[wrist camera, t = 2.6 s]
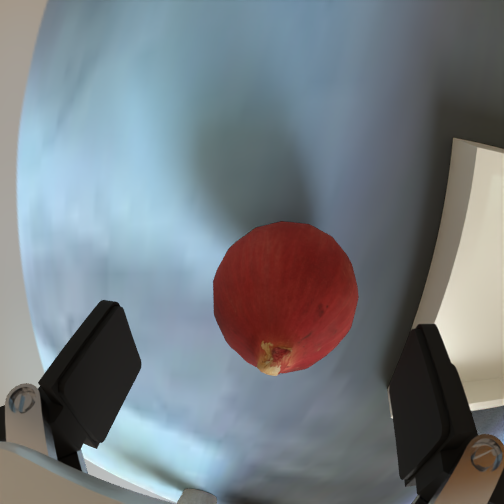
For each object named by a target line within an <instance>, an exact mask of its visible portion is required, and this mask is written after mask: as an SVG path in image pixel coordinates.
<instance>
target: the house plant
mask: <svg viewBox="0 0 504 504" xmlns="http://www.w3.org/2000/svg"><path fill="white" fill-rule="evenodd" d="M216 503H217V498H216V497H215V496H214V495H212V494H210V493H207V492H204V491H200V490H196V489H185V490H184V491H183V493H182V495H181V497H180V498H179V500H178V502H177V504H216Z"/></svg>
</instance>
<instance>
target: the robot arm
mask: <svg viewBox="0 0 504 504" xmlns="http://www.w3.org/2000/svg"><path fill="white" fill-rule="evenodd" d="M140 369H141V359H140V357H139V354H138V351H137V348H136V345H135V342H134V339H133V337H132V334H131V331H130V328H129V325H128V321H127V318H126V315H125V312H124V309H123V308H122V307H120V305H119V303H118V302H113V301H107V300H102V301H100V302H99V303H98V305H97V306H96V307H95V308H94V310H93V311H92V312H91V313H90V314H89V316H88V317H87V318H86V320H85V321H84V322H83V323H82V325H81V326H80V327H79V328H78V330H77V331H76V332H75V334H74V335H73V336H72V337H71V339H70V340H69V341H68V343H67V344H66V345H65V347H64V348H63V349H62V351H61V352H60V353H59V355H58V356H57V357H56V359H55V360H54V361H53V363H52V364H51V366H50V367H49V368H48V370H47V371H46V372H45V374H44V375H43V377H42V378H41V379H40V381H39V382H38V383H39V385H40V387H39V388H38V389H37V388H36V387H35V386H34V385H32V384H27V383H26V384H20V385H18V386H16V387H15V388H13V389H12V390H11V391H10V392H9V394H8V395H7V398H6V402H5V405H4V406H1V407H0V504H175V503H171V502H167V501H163V500H160V499H157V498H153V497H150V496H147V495H143V494H140V493H137V492H134V491H131V490H128V489H125V488H122V487H120V486H117V485H114V484H111V483H109V482H106V481H104V480H101V479H98V478H96V477H94V476H91V475H89V474H88V472H87V468H86V465H85V462H84V458H83V454H82V451H81V447H82V445H83V443H84V444H86V445H88V446H91V447H94V448H96V449H97V447H98V445H99V443H102V442H103V441H104V440H105V438H106V436H107V434H108V432H109V430H110V428H111V426H112V424H113V422H114V420H115V418H116V416H117V414H118V412H119V410H120V408H121V406H122V404H123V402H124V400H125V398H126V396H127V394H128V393H129V391H130V389H131V387H132V385H133V383H134V381H135V379H136V377H137V375H138V373H139V371H140ZM389 395H390V401H391V408H392V415H393V422H394V429H395V437H396V446H397V455H398V465H399V475H400V478H401V479H402V480H403V479H404V480H405V487H407V486H415V485H416V488H417V494H418V495H417V497H416V498H415V499H414V501H413V502H412V503H411V504H504V445H503V443H502V442H501V441H500V440H499V439H498V438H497V437H495V436H493V435H490V434H481V435H478V434H477V430H476V427H475V423H474V420H473V417H472V413H471V410H470V407H469V404H468V400H467V397H466V394H465V391H464V388H463V385H462V382H461V380H460V377H459V374H458V371H457V369H456V367H455V365H453V364H451V361H450V358H449V355H448V353H447V350H446V348H445V345H444V342H443V340H442V337H441V335H440V332H439V330H438V328H437V326H436V325H435V324H418V325H417V326H416V328H415V329H412V330H411V331H410V334H409V337H408V339H407V342H406V345H405V347H404V350H403V353H402V355H401V358H400V360H399V363H398V365H397V368H396V370H395V372H394V375H393V377H392V380H391V382H390V385H389Z"/></svg>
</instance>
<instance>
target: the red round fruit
mask: <svg viewBox="0 0 504 504" xmlns="http://www.w3.org/2000/svg"><path fill="white" fill-rule="evenodd" d="M213 295H214V316H215V318H216V321H217V323H218V325H219V328H220V330H221V332H222V334H223V336H224V338H225V340H226V342H227V343H228V344H229V346H230V347H231V348H233V349H234V350H235V351H236V352H237V353H238V354H239V355H240V356H241V357H242V358H243V359H244V360H245V361H246V362H248V363H250V364H252V365H253V366H255V367H257V368H258V369H259V370H260V371H261V372H263V373H265V374H268V375H273V376H277V375H278V374H280V373H288V372H293V371H298V370H303V369H306V368H309V367H310V366H312V365H313V364H315V363H316V362H317V361H319V360H320V359H322V358H323V357H325V356H326V355H327V354H328V353H330V352H331V351H332V350H333V349H334V348H335V347H336V346H337V345H338V344H339V342H340V341H341V340H342V339H343V338H344V337H345V336H346V334H347V333H348V331H349V330H350V328H351V326H352V322H353V318H354V314H355V310H356V306H357V301H358V288H357V283H356V279H355V275H354V271H353V267H352V264H351V262H350V260H349V258H348V256H347V255H346V253H345V252H344V251H343V250H342V248H341V247H340V246H339V245H338V243H337V242H336V241H335V240H334V238H333V237H332V236H330V235H328V234H326V233H324V232H323V231H321V230H319V229H317V228H315V227H314V226H312V225H310V224H303V223H294V222H284V221H280V222H276V223H272V224H268V225H264V226H261V227H257V228H255V229H253V230H252V231H250V232H249V233H248V234H246V235H245V236H243V237H242V238H241V239H239V240H238V241H236V242H235V243H234V244H233V245H232V246H231V247H230V248H229V249H228V251H227V252H226V254H225V256H224V258H223V260H222V262H221V263H220V265H219V267H218V269H217V271H216V274H215V277H214V280H213Z"/></svg>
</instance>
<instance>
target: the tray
mask: <svg viewBox="0 0 504 504" xmlns="http://www.w3.org/2000/svg"><path fill="white" fill-rule="evenodd" d="M418 324H435V325H436V326H437V328H438V330H439V332H440V335H441V337H442V340H443V342H444V345H445V348H446V350H447V353H448V355H449V358H450V361H451V364H453V365H455V367H456V369H457V371H458V374H459V377H460V380H461V382H462V385H463V388H464V391H465V394H466V397H467V400H468V404H469V407H470V410H471V411H474V410H480V409H487V408H493V407H498V406H504V149H502V148H498V147H494V146H490V145H486V144H481V143H477V142H472V141H468V140H463V139H458V138H453V144H452V154H451V162H450V170H449V177H448V184H447V190H446V196H445V202H444V207H443V213H442V218H441V223H440V228H439V232H438V237H437V241H436V245H435V250H434V254H433V258H432V262H431V266H430V269H429V273H428V277H427V280H426V284H425V287H424V291H423V294H422V298H421V301H420V304H419V307H418V310H417V313H416V316H415V319H414V322H413V325H412V328H411V330H412V329H415V328H416V326H417V325H418ZM387 391H388V398H389V406H390V413H391V418H393V415H392V408H391V401H390V395H389V387H388V390H387Z"/></svg>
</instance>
